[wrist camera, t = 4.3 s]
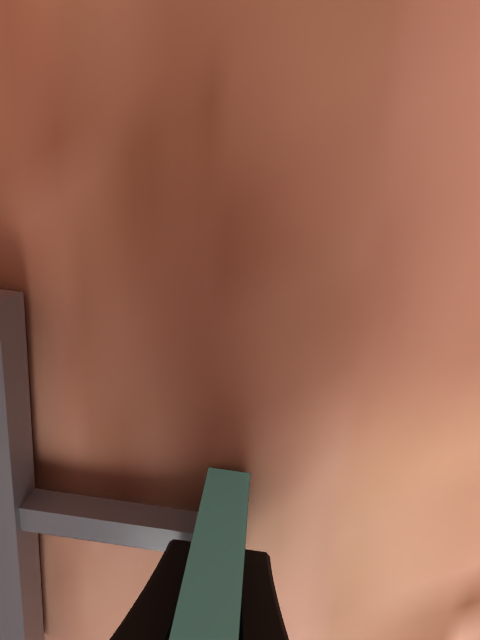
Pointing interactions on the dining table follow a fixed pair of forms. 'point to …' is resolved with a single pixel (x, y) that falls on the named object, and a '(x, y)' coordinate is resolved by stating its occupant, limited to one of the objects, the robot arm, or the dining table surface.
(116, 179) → the dining table surface
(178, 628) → the frame with teal handle
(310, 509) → the dining table surface
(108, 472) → the dining table surface
